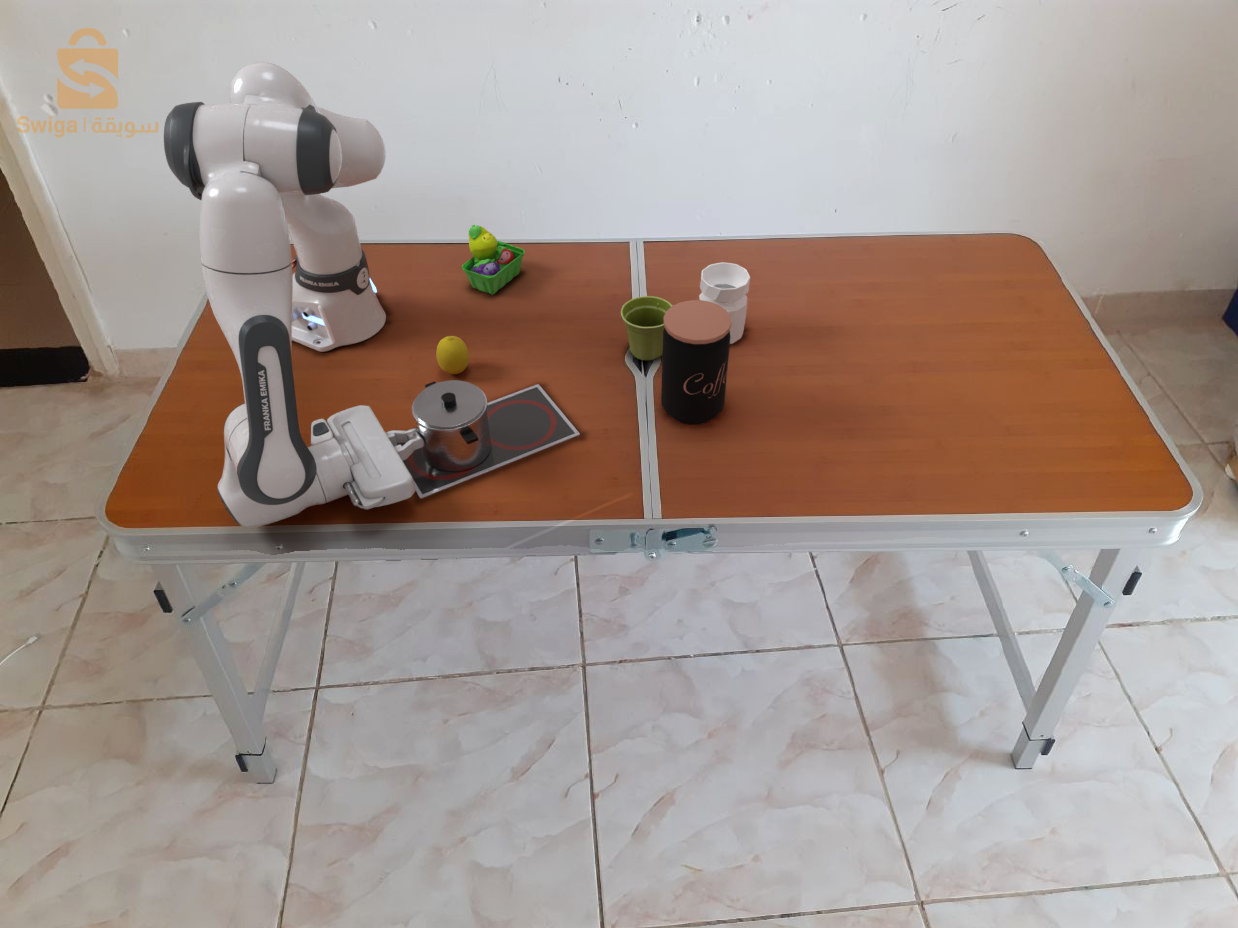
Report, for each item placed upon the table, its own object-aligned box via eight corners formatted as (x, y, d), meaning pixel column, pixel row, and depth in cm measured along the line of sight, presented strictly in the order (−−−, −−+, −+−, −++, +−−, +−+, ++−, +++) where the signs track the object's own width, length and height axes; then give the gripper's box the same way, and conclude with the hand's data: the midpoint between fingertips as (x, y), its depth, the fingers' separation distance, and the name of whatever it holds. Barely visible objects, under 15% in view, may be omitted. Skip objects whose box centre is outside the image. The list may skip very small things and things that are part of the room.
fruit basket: (494, 300, 185) (488, 249, 177) (458, 287, 188) (450, 236, 180) (528, 272, 191) (524, 222, 184) (493, 259, 195) (487, 210, 187)
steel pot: (444, 491, 148) (434, 440, 140) (404, 433, 157) (393, 382, 150) (511, 463, 152) (505, 412, 144) (468, 408, 161) (460, 357, 154)
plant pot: (668, 370, 169) (670, 330, 163) (616, 363, 170) (615, 324, 164) (676, 338, 175) (678, 299, 169) (626, 332, 177) (626, 293, 171)
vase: (690, 339, 175) (693, 283, 167) (705, 313, 181) (709, 258, 173) (736, 350, 173) (741, 294, 164) (750, 323, 179) (756, 268, 170)
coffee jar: (681, 435, 157) (685, 347, 144) (649, 398, 164) (650, 311, 151) (736, 414, 160) (745, 327, 148) (702, 379, 167) (708, 292, 154)
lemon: (476, 367, 170) (471, 330, 164) (462, 386, 166) (456, 349, 161) (448, 361, 171) (442, 324, 166) (434, 379, 168) (427, 343, 162)
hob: (420, 500, 147) (420, 498, 146) (385, 443, 156) (385, 440, 156) (580, 436, 157) (580, 434, 156) (538, 386, 166) (538, 383, 166)
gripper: (352, 497, 135) (443, 462, 140) (309, 414, 148) (393, 385, 153) (361, 527, 140) (449, 492, 145) (318, 444, 152) (400, 415, 157)
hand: (420, 436), depth 149 cm, fingers closed, pressing on steel pot
